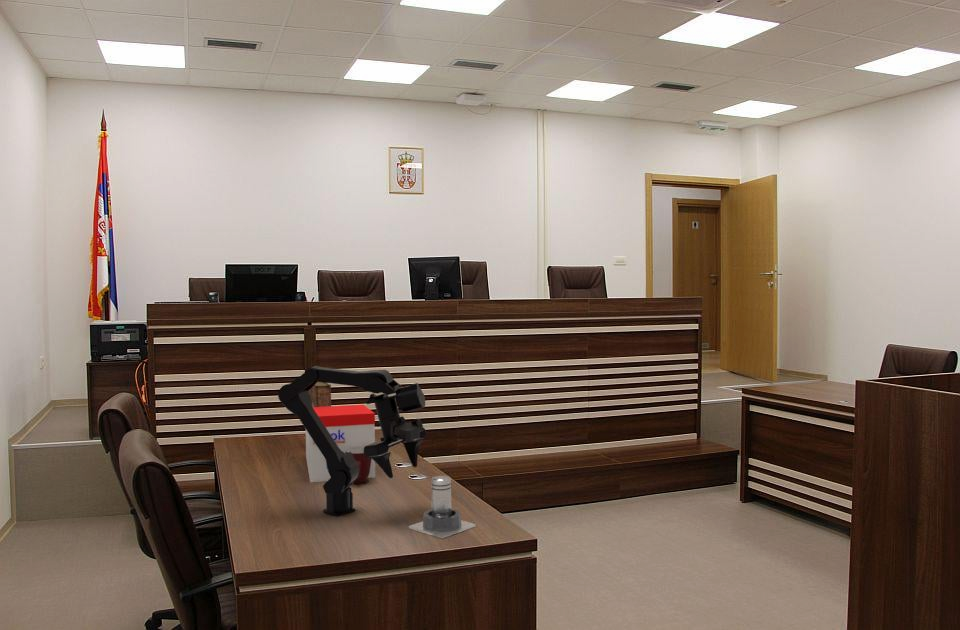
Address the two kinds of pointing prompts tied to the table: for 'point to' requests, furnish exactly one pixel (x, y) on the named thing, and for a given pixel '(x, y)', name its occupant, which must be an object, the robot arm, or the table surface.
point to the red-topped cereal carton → (341, 436)
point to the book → (320, 395)
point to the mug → (361, 464)
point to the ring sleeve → (442, 524)
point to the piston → (441, 496)
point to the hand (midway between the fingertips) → (403, 472)
